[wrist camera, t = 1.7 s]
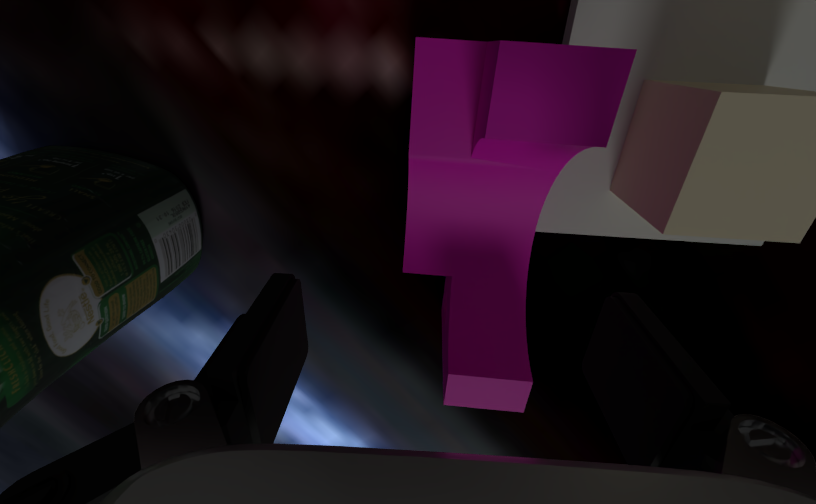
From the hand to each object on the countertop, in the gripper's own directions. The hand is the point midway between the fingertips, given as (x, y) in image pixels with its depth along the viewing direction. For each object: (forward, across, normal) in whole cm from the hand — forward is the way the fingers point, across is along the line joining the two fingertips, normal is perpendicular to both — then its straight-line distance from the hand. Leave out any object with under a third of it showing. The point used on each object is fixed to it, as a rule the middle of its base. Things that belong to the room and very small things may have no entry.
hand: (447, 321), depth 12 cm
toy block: (+10, -2, 0) cm, 11 cm away
